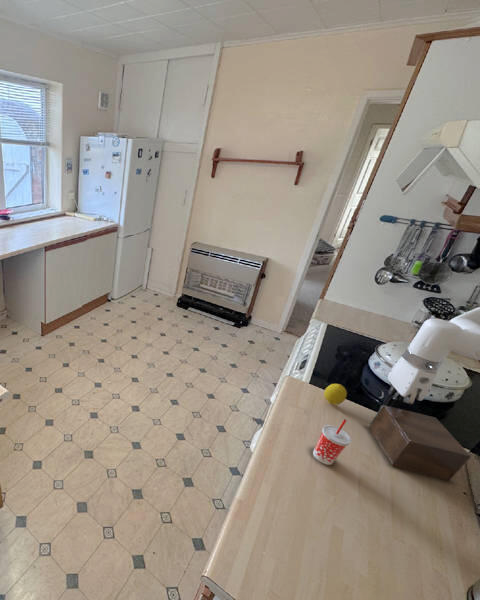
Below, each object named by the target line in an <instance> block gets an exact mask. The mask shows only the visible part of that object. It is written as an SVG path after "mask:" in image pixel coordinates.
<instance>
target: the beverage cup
mask: <svg viewBox="0 0 480 600" xmlns="http://www.w3.org/2000/svg"><path fill="white" fill-rule="evenodd" d="M346 422H347V420H346V419H343V421H342V422H341V424H340V425H339V427H338V426H336V425H332V424H325V425H324V426H323V427H322V429H321V433H320V436H319V438H318V440H317V441H316V445H315V447H314V449H313V451H312V455H313V457H314V458H315V459H316V460H317V461H318V462H320V463H322V464H324V465H327V466H330V465H331V466H332V465H333V463H334V462H335V461H336V459H337V458H338V457H339V455H341V453H342V452H343V451H344V449H345V448H346V447H347V446H349V445H350V443H351V442H352V438H351V437H350V435H349V433H347V432H346V431H345V430H343V427H344V425H345V424H346Z"/></svg>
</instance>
